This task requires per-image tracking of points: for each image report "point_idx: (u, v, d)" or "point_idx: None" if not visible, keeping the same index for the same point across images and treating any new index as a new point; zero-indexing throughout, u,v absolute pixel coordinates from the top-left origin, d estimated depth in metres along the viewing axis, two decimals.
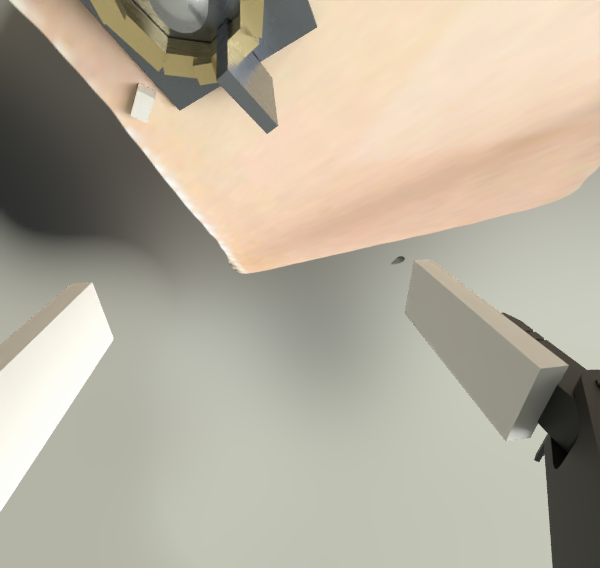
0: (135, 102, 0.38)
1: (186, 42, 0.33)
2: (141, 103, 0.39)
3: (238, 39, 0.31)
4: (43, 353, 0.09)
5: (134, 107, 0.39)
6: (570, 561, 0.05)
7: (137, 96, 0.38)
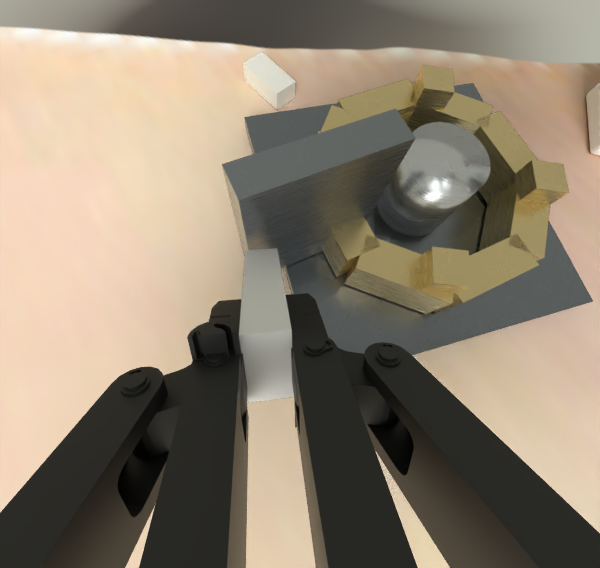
0: (279, 69, 0.24)
1: None
2: (275, 74, 0.24)
3: (360, 229, 0.17)
4: None
5: (272, 63, 0.24)
6: (313, 523, 0.06)
7: (287, 76, 0.24)
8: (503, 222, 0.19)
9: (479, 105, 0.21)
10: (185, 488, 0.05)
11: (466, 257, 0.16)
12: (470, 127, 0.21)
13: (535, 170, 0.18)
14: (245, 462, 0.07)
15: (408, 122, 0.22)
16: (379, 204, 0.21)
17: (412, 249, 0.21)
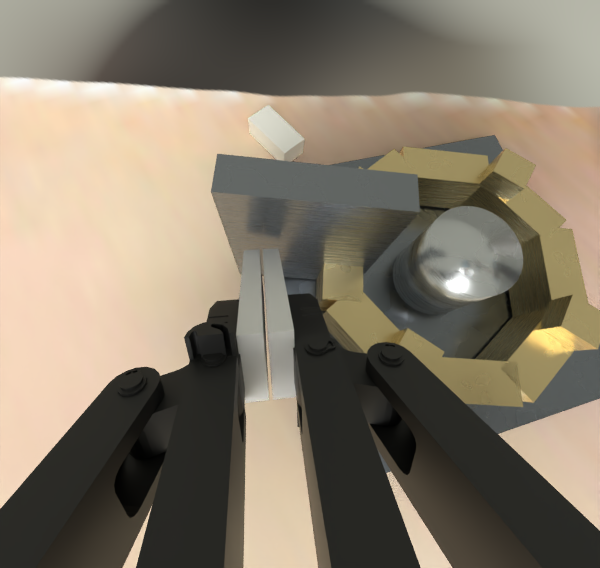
0: (287, 124, 0.22)
1: None
2: (283, 131, 0.22)
3: (352, 276, 0.16)
4: None
5: (279, 118, 0.22)
6: (315, 522, 0.06)
7: (295, 133, 0.22)
8: (511, 344, 0.17)
9: (550, 213, 0.19)
10: (182, 489, 0.05)
11: (438, 357, 0.14)
12: (528, 231, 0.19)
13: (570, 307, 0.15)
14: (243, 462, 0.07)
15: (468, 198, 0.20)
16: (395, 280, 0.20)
17: (431, 331, 0.19)
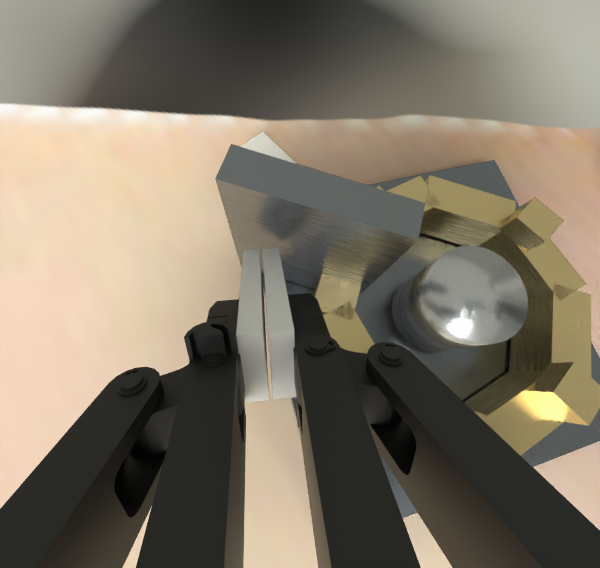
0: (282, 152, 0.22)
1: None
2: None
3: (348, 292, 0.16)
4: None
5: (274, 146, 0.22)
6: (315, 522, 0.06)
7: (290, 161, 0.22)
8: (498, 398, 0.16)
9: (570, 273, 0.18)
10: (182, 489, 0.05)
11: None
12: (543, 287, 0.18)
13: (568, 374, 0.14)
14: (243, 462, 0.07)
15: (487, 240, 0.20)
16: (395, 316, 0.19)
17: (433, 369, 0.19)
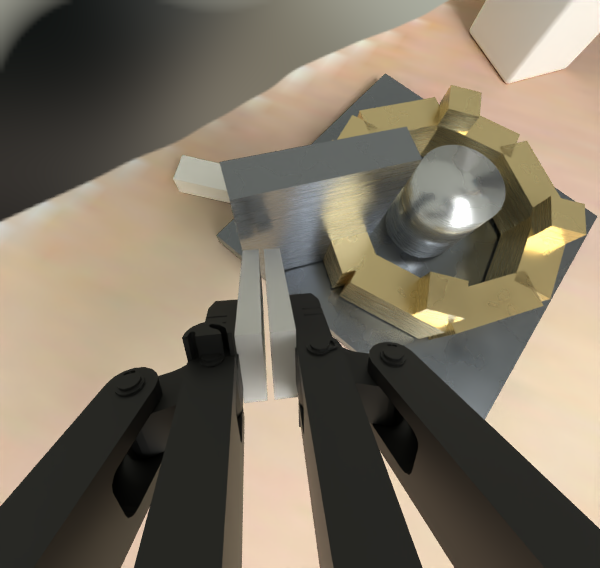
0: (214, 163, 0.21)
1: None
2: (215, 172, 0.21)
3: (361, 243, 0.17)
4: None
5: (202, 162, 0.21)
6: (317, 522, 0.06)
7: None
8: (513, 256, 0.19)
9: (505, 132, 0.20)
10: (180, 489, 0.05)
11: (465, 287, 0.15)
12: (492, 154, 0.20)
13: (553, 207, 0.17)
14: (241, 462, 0.07)
15: (429, 141, 0.22)
16: (399, 244, 0.20)
17: (450, 266, 0.21)
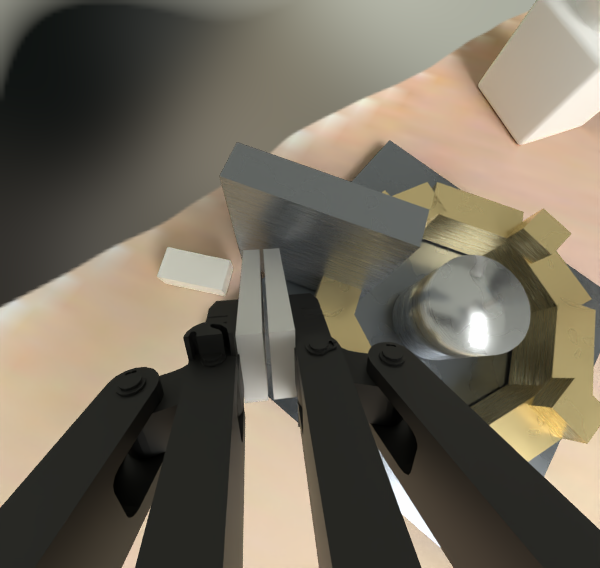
0: (202, 256, 0.19)
1: None
2: (203, 266, 0.19)
3: (348, 296, 0.16)
4: (261, 296, 0.12)
5: (190, 254, 0.19)
6: (316, 522, 0.06)
7: (217, 260, 0.19)
8: (496, 411, 0.16)
9: (576, 287, 0.17)
10: (181, 489, 0.05)
11: None
12: (547, 300, 0.17)
13: (568, 390, 0.14)
14: (242, 462, 0.07)
15: (492, 250, 0.19)
16: (408, 346, 0.18)
17: (465, 369, 0.19)
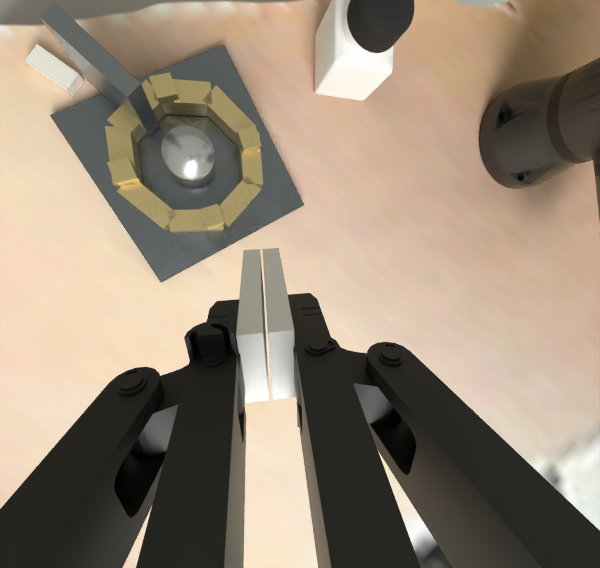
0: (59, 62, 0.30)
1: (189, 113, 0.34)
2: (58, 69, 0.30)
3: (131, 122, 0.30)
4: None
5: (51, 56, 0.30)
6: (315, 522, 0.06)
7: (69, 69, 0.30)
8: None
9: (259, 175, 0.34)
10: (182, 489, 0.05)
11: (132, 177, 0.29)
12: (242, 175, 0.34)
13: (211, 207, 0.32)
14: (243, 462, 0.07)
15: (238, 142, 0.35)
16: (170, 171, 0.34)
17: (198, 196, 0.36)
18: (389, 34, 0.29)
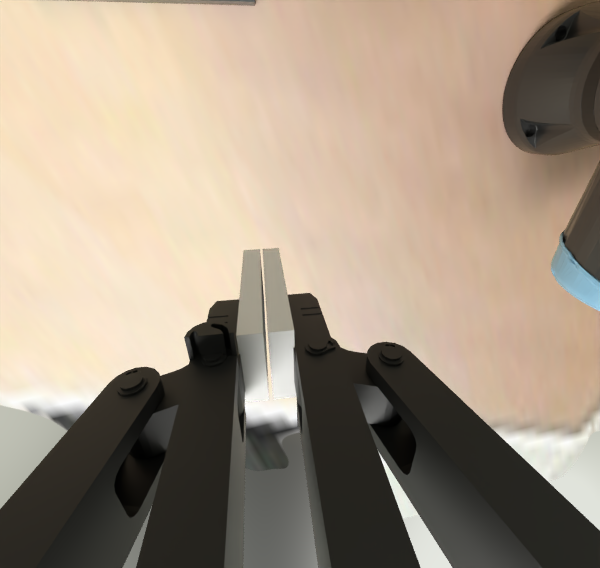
0: None
1: None
2: None
3: None
4: None
5: None
6: (315, 522, 0.06)
7: None
8: None
9: None
10: (182, 489, 0.05)
11: None
12: None
13: None
14: (243, 462, 0.07)
15: None
16: None
17: None
18: None
